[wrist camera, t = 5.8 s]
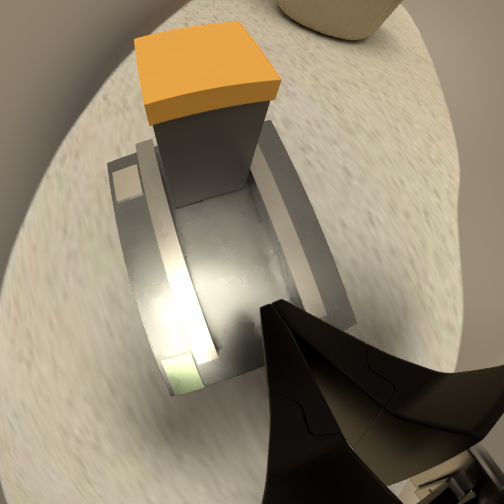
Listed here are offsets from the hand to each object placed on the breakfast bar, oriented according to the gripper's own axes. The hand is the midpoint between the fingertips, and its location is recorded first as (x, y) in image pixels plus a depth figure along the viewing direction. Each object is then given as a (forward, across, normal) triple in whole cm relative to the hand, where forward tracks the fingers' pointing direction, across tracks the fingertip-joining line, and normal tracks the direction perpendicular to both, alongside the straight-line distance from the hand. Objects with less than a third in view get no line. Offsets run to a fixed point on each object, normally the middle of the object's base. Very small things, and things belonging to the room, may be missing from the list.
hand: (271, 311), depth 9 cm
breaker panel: (+7, 0, +3) cm, 8 cm away
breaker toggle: (+9, 0, -3) cm, 10 cm away
